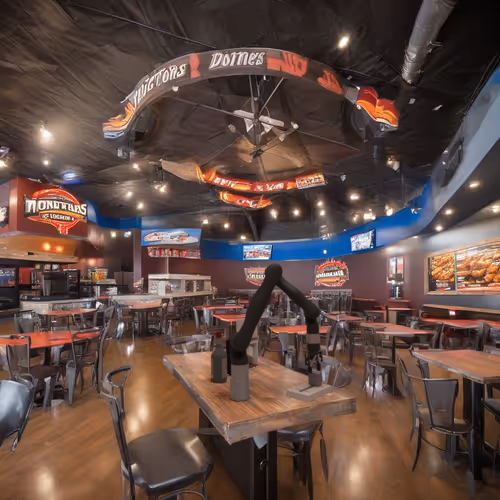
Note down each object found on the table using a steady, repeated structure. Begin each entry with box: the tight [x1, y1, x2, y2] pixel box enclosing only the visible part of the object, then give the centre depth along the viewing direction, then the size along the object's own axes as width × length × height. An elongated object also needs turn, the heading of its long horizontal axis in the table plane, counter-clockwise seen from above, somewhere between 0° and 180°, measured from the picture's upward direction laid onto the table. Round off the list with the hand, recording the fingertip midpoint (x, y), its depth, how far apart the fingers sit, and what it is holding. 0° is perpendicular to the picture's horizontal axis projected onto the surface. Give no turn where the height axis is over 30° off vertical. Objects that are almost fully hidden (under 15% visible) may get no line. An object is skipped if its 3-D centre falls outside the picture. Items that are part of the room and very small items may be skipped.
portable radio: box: [225, 336, 231, 376], centre depth 210 cm, size 8×6×25 cm
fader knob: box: [307, 370, 323, 386], centre depth 169 cm, size 4×6×6 cm, turn 45°
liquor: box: [210, 331, 228, 384], centre depth 194 cm, size 9×9×30 cm
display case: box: [235, 317, 259, 369], centre depth 229 cm, size 11×11×35 cm
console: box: [285, 381, 333, 403], centre depth 164 cm, size 22×14×3 cm, turn 135°
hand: (314, 372), depth 170 cm, fingers open, 8 cm apart
